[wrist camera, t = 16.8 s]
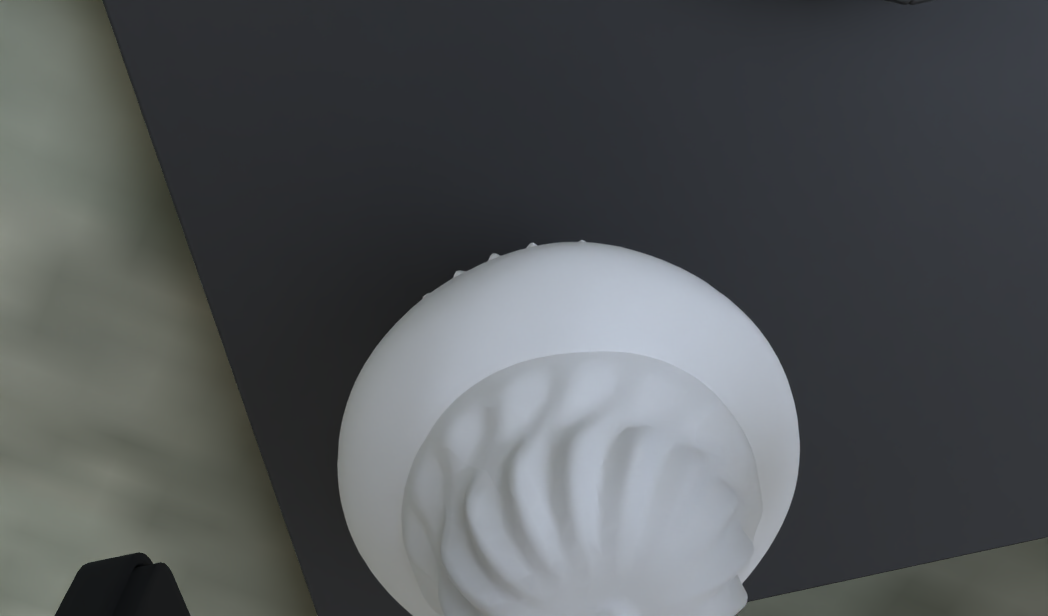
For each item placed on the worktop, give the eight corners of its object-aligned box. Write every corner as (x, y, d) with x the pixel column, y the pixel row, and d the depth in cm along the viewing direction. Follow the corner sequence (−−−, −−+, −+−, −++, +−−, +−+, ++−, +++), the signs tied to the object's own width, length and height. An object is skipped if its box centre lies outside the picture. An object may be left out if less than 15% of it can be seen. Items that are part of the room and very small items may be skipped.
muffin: (337, 183, 15) (266, 395, 9) (734, 162, 16) (949, 349, 9) (374, 525, 17) (339, 892, 11) (717, 499, 18) (878, 839, 11)
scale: (40, -272, 14) (-59, -314, 11) (1051, -488, 14) (1205, -585, 11) (348, 640, 20) (334, 757, 17) (1042, 490, 20) (1138, 584, 17)
